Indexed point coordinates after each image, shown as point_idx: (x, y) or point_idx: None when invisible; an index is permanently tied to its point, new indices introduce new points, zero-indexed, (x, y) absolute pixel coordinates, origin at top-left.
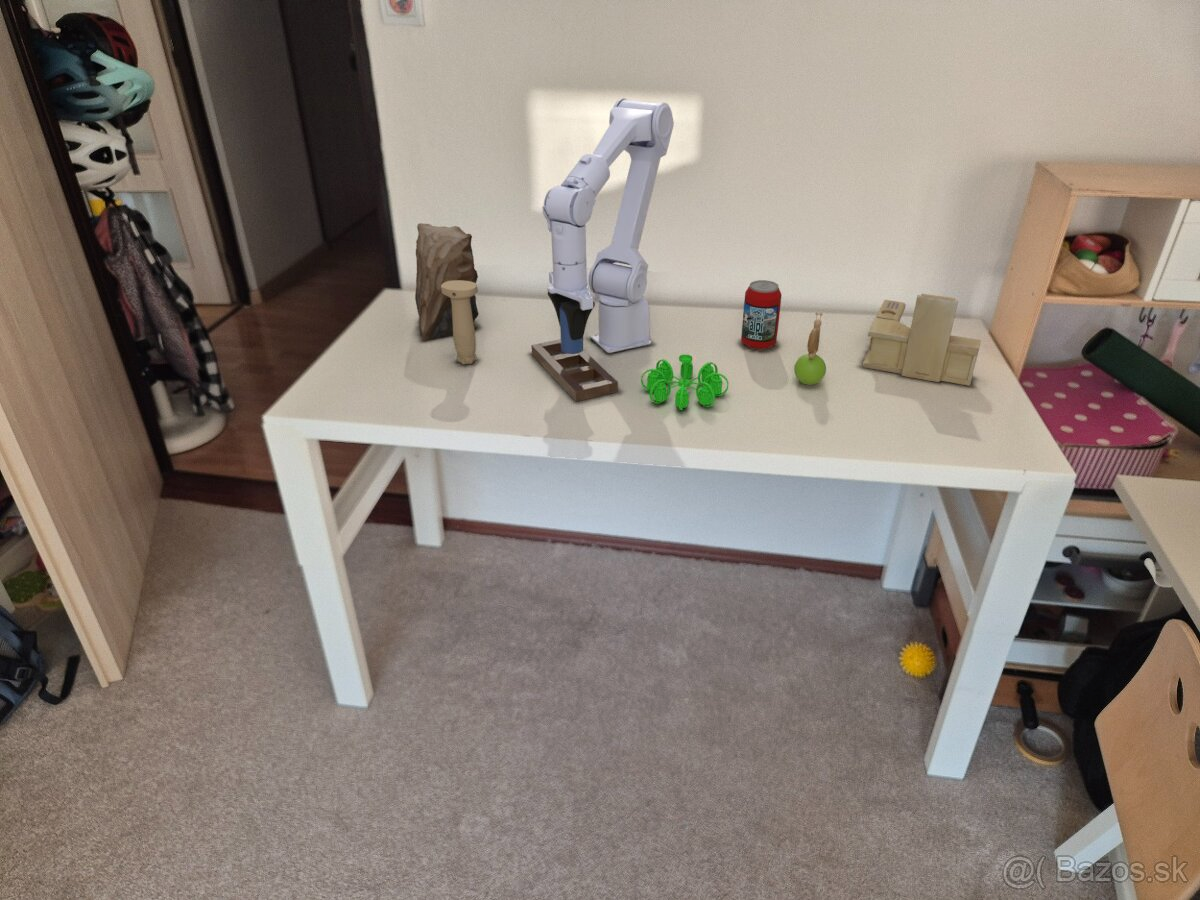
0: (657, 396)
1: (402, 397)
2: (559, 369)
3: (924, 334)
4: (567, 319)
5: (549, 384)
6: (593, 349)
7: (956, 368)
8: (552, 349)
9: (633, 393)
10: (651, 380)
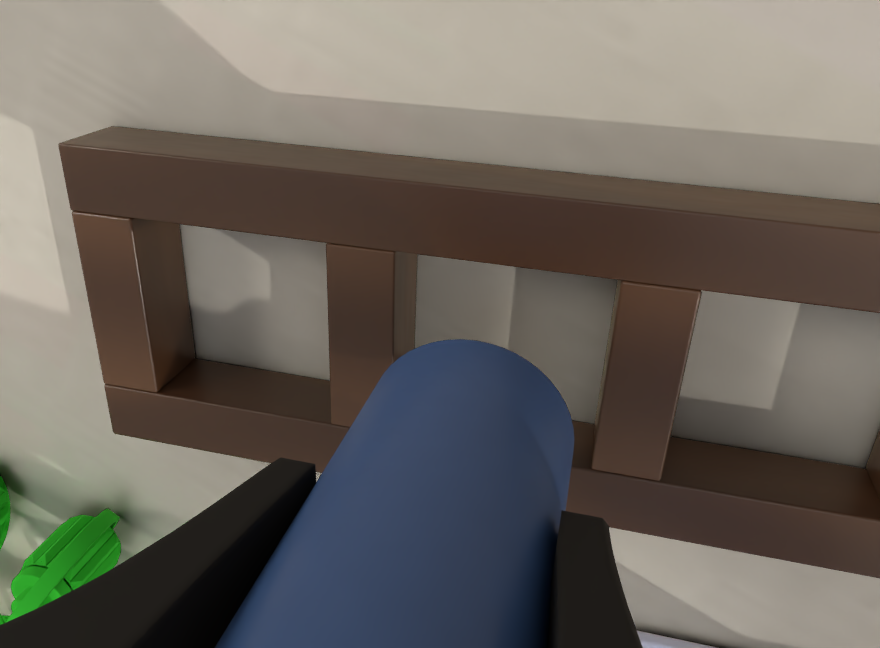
0: None
1: None
2: (439, 220)
3: None
4: (122, 619)
5: (425, 83)
6: (748, 605)
7: None
8: None
9: (118, 447)
10: (30, 558)
